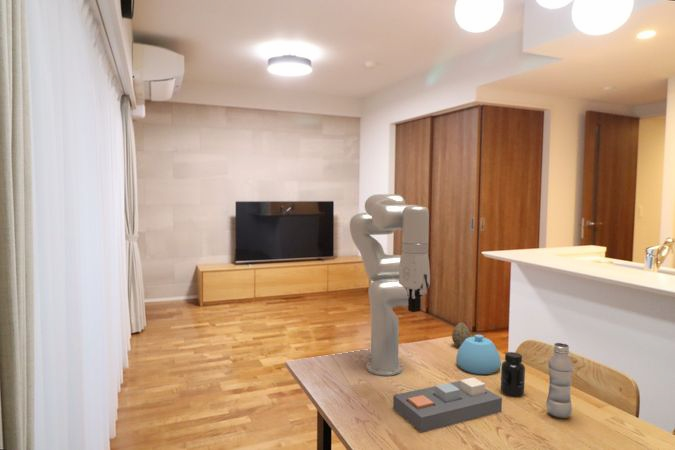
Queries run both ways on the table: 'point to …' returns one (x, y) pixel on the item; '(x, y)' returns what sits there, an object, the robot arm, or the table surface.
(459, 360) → the sugar bowl
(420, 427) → the button panel
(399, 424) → the table surface
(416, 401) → the terracotta button
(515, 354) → the supplement bottle
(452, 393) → the light gray button
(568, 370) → the plastic bottle
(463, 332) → the decorative egg
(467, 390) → the cream button
